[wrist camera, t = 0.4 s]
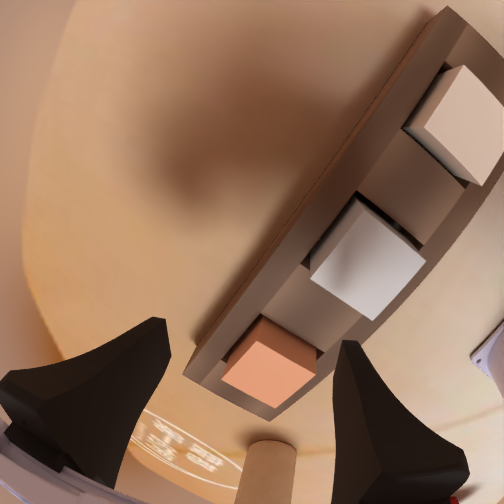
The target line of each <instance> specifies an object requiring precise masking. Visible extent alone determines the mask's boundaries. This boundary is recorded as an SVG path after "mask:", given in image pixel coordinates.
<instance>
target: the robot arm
mask: <svg viewBox="0 0 504 504" xmlns="http://www.w3.org/2000/svg"><path fill="white" fill-rule="evenodd" d="M170 358H171V350H170V344H169V338H168V332H167V326H166V319H163V318H157V317H151V318H149V319H147V320H146V321H144V322H142V323H140V324H139V325H137V326H135V327H134V328H132V329H130V330H129V331H127V332H125V333H124V334H122V335H120V336H118V337H117V338H115V339H113V340H111V341H109V342H107V343H105V344H104V345H102V346H100V347H98V348H96V349H94V350H91V351H89V352H87V353H85V354H82V355H80V356H77V357H74V358H71V359H68V360H65V361H62V362H59V363H55V364H51V365H47V366H42V367H37V368H31V369H21V370H11V371H9V372H8V373H7V374H6V375H5V376H4V377H3V379H2V380H1V381H0V404H1V406H2V407H3V409H4V410H5V412H6V413H7V415H8V416H9V418H10V419H11V420H12V423H11V424H10V426H9V425H8V424H7V423H6V422H5V421H3V420H2V419H1V418H0V484H1V485H2V486H3V487H4V488H6V489H7V490H8V491H9V492H10V493H12V494H13V495H14V496H15V497H17V498H18V499H19V500H21V501H22V502H23V503H25V504H149V503H146V502H144V501H141V500H138V499H135V498H133V497H130V496H128V495H125V494H123V493H120V492H118V491H115V490H114V487H115V484H116V480H117V476H118V472H119V469H120V466H121V462H122V460H123V457H124V453H125V451H126V448H127V445H128V443H129V440H130V437H131V435H132V433H133V430H134V428H135V425H136V423H137V421H138V419H139V417H140V415H141V413H142V411H143V409H144V408H145V406H146V404H147V403H148V401H149V399H150V398H151V396H152V394H153V393H154V391H155V389H156V388H157V386H158V384H159V382H160V381H161V379H162V377H163V375H164V373H165V371H166V368H167V366H168V364H169V361H170ZM478 359H479V360H478ZM470 360H471V362H472V363H473V364H474V365H476V366H477V367H478V368H479V369H480V370H482V371H483V372H484V373H485V374H487V375H488V376H489V377H490V378H491V379H493V380H494V381H495V383H496V385H497V387H498V389H499V391H500V393H501V395H502V397H503V399H504V322H503V323H502V324H501V325H500V326H499V328H498V329H497V330H496V331H495V332H494V333H493V334H492V335H491V336H490V337H489V338H488V339H487V340H486V342H485V343H484V344H483V345H482V346H481V347H480V348H479V349H478V350H477V351H476V352H475V353H474V354H473V355H472V356H471V358H470ZM333 412H334V425H335V439H336V459H335V473H334V483H333V493H332V500H331V504H451V501H450V496H451V495H452V494H453V493H454V492H456V491H457V490H458V489H459V488H460V487H461V486H462V485H463V484H464V483H465V482H466V481H467V479H468V477H469V475H470V472H469V468H468V463H467V459H466V456H465V454H464V451H463V450H462V449H461V448H459V447H457V446H455V445H454V444H452V443H450V442H448V441H447V440H445V439H443V438H442V437H440V436H439V435H438V434H436V433H435V432H433V431H432V430H431V429H429V428H428V427H427V426H425V425H424V424H423V423H422V422H421V421H419V420H418V419H417V418H416V417H415V416H414V415H413V414H412V413H411V412H409V411H408V410H407V409H406V408H405V407H404V405H403V404H402V403H401V402H400V401H399V400H398V399H397V398H396V397H395V396H394V394H393V393H392V392H391V391H390V389H389V388H388V387H387V385H386V384H385V383H384V381H383V380H382V379H381V377H380V376H379V374H378V373H377V371H376V370H375V368H374V367H373V365H372V364H371V362H370V360H369V359H368V357H367V356H366V354H365V352H364V350H363V349H362V347H361V345H360V344H359V342H358V341H356V340H342V343H341V347H340V351H339V356H338V360H337V364H336V368H335V372H334V376H333Z"/></svg>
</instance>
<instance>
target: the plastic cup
mask: <svg viewBox="0 0 504 504" xmlns="http://www.w3.org/2000/svg"><path fill="white" fill-rule="evenodd" d="M450 501H451V504H459V503H458V500H457V499H456V497H450Z"/></svg>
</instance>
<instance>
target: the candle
mask: <svg viewBox="0 0 504 504" xmlns="http://www.w3.org/2000/svg"><path fill="white" fill-rule="evenodd" d="M295 465H296V451H295V449H294V448H293V447H292V446H290V445H288V444H286V443H283V442H279V441H273V440H263V441H258V442H255V443H253V444H251V445H250V446H249V448H248V451H247V455H246V459H245V463H244V467H243V471H242V475H241V479H240V483H239V487H238V491H237V495H236V499H235V503H234V504H291V497H292V490H293V482H294V474H295Z"/></svg>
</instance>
